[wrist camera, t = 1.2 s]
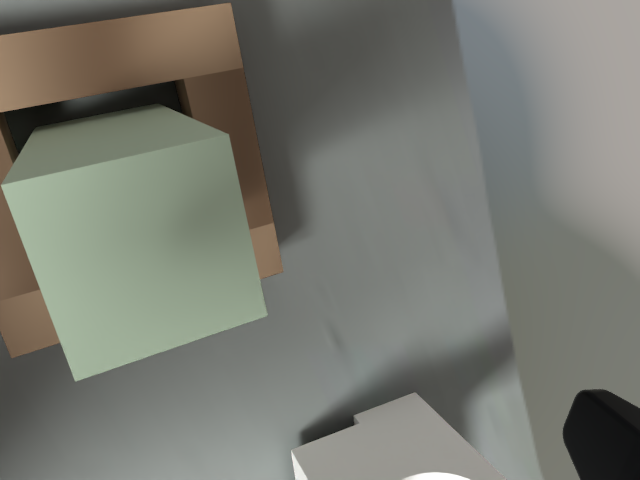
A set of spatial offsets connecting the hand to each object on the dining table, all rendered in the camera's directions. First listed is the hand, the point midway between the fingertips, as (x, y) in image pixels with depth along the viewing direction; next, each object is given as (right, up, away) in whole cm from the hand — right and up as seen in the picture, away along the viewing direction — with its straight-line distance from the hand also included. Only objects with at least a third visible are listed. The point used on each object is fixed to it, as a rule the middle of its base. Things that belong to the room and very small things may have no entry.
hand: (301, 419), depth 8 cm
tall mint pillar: (-7, +5, +11) cm, 14 cm away
